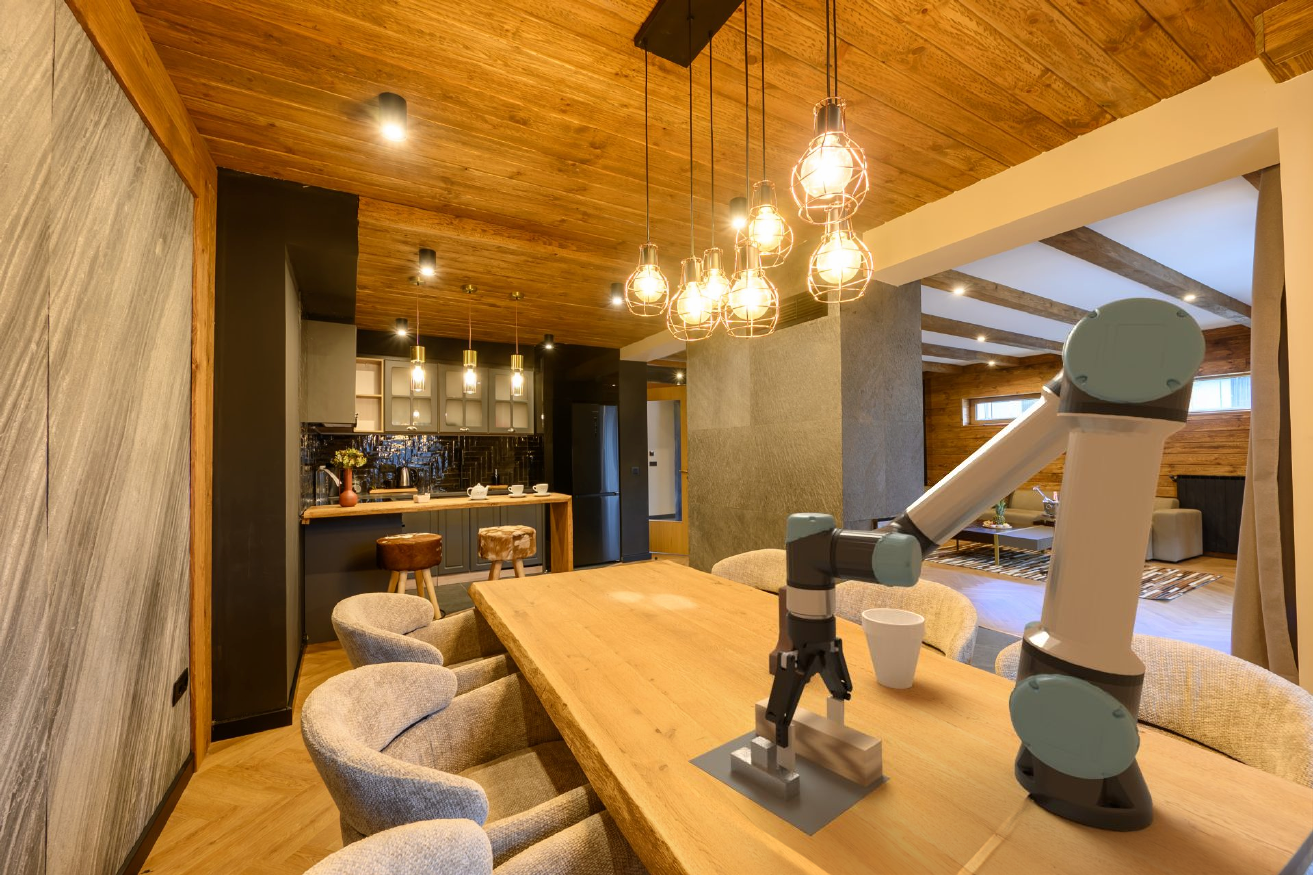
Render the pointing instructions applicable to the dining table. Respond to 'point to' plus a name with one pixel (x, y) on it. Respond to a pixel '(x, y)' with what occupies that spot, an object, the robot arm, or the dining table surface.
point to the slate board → (818, 787)
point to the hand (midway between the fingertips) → (811, 752)
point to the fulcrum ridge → (765, 769)
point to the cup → (894, 644)
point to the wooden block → (781, 632)
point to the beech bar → (829, 744)
